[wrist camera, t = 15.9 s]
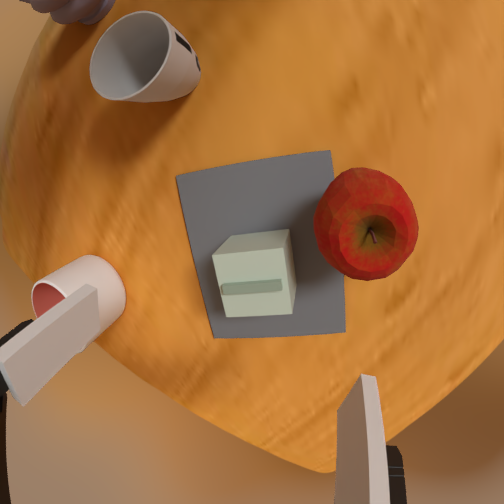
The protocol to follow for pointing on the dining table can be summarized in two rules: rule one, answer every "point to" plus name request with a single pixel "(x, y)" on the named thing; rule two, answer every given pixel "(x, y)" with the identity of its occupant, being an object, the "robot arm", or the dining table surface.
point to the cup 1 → (74, 278)
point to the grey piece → (261, 220)
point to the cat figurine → (73, 10)
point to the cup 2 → (143, 60)
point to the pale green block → (256, 274)
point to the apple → (365, 224)
